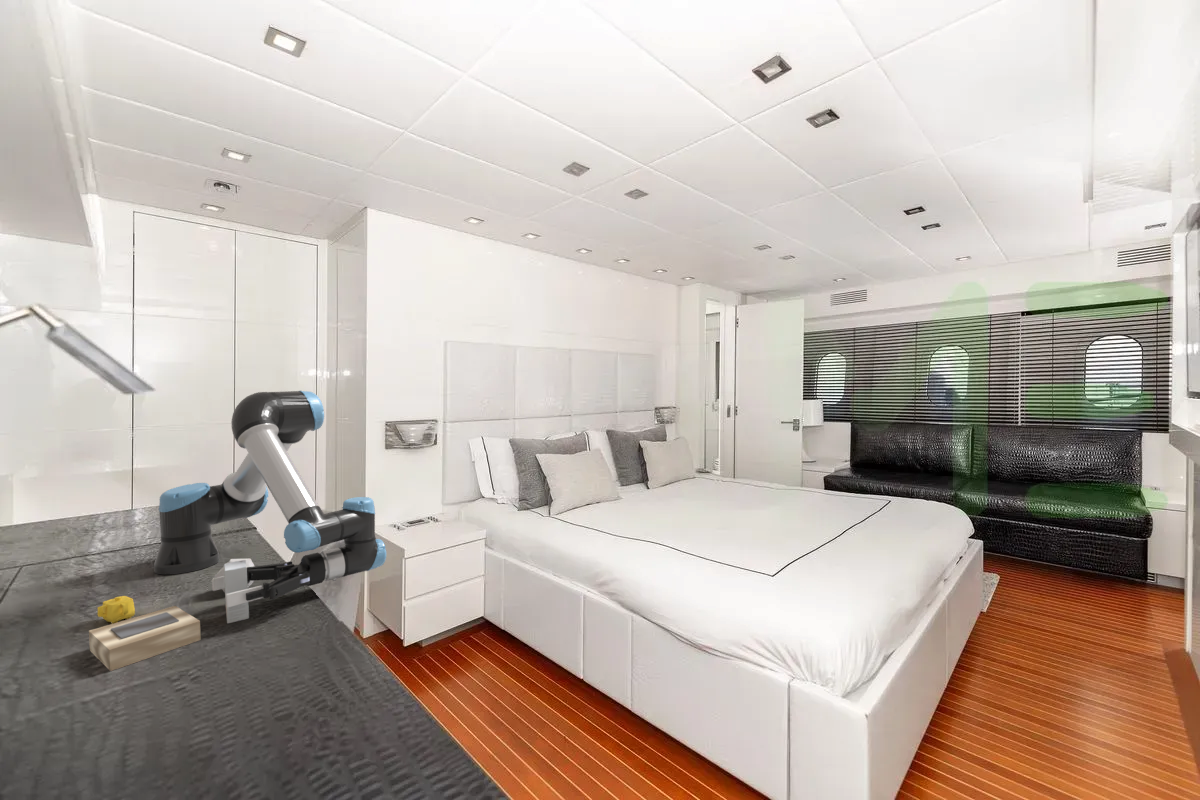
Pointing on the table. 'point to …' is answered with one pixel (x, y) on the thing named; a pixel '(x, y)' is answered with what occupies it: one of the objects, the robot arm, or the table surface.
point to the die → (248, 561)
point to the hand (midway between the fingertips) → (219, 592)
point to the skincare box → (236, 589)
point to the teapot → (117, 609)
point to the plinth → (143, 637)
